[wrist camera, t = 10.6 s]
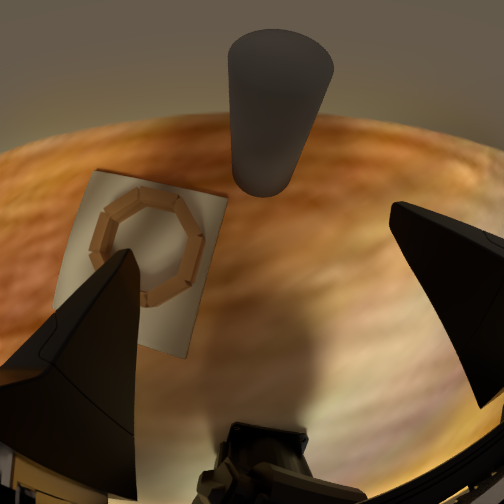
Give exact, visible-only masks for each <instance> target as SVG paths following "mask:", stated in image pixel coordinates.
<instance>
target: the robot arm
mask: <svg viewBox="0 0 504 504" xmlns="http://www.w3.org/2000/svg"><path fill="white" fill-rule="evenodd" d="M389 227H390V230H391V232H392V234H393V236H394V237H395V239H396V241H397V243H398V245H399V247H400V249H401V251H402V253H403V255H404V257H405V259H406V261H407V263H408V264H409V266H410V268H411V269H412V271H413V273H414V274H415V276H416V278H417V279H418V281H419V283H420V284H421V286H422V288H423V289H424V291H425V293H426V295H427V296H428V298H429V300H430V302H431V304H432V305H433V307H434V309H435V311H436V313H437V315H438V317H439V319H440V320H441V322H442V324H443V326H444V328H445V330H446V332H447V334H448V336H449V338H450V340H451V342H452V344H453V347H454V349H455V351H456V353H457V355H458V357H459V360H460V362H461V364H462V367H463V369H464V371H465V373H466V376H467V378H468V381H469V383H470V385H471V388H472V390H473V393H474V396H475V398H476V401H477V403H478V406H479V408H480V409H482V408H483V407H485V406H486V405H487V404H489V403H490V402H491V401H493V400H494V399H495V398H497V397H498V396H499V395H501V394H502V393H503V392H504V239H503V238H501V237H498V236H496V235H493V234H491V233H488V232H486V231H484V230H483V231H482V230H481V229H479V228H476V227H474V226H471V225H469V224H466V223H463V222H461V221H458V220H456V219H453V218H450V217H447V216H445V215H442V214H439V213H436V212H434V211H431V210H428V209H425V208H422V207H419V206H416V205H413V204H410V203H407V202H404V201H400V202H394V203H393V204H392V206H391V213H390V219H389ZM139 321H140V269H139V266H138V264H137V261H136V259H135V256H134V254H133V251H132V250H131V249H130V248H126V249H121V250H118V251H117V252H116V253H115V254H114V255H113V256H112V257H110V258H109V259H108V260H107V261H106V262H105V263H104V264H103V265H102V266H101V267H100V268H99V269H97V270H96V271H95V272H94V273H93V274H92V275H91V276H90V277H89V278H88V279H87V280H86V281H85V282H84V283H83V284H82V285H81V286H80V287H79V288H78V289H77V290H76V291H75V292H74V293H73V294H72V295H71V296H70V297H69V298H68V299H67V300H66V301H65V302H64V303H63V304H62V305H61V306H60V307H59V308H58V309H57V310H56V311H55V313H53V314H52V315H51V316H50V317H49V318H48V319H47V320H46V321H45V323H44V324H43V325H42V326H41V327H40V328H39V329H38V330H37V331H36V332H35V333H34V334H33V335H32V336H31V337H30V338H29V339H28V340H27V341H26V342H25V343H24V344H23V345H22V346H21V347H20V348H19V349H18V350H17V351H16V352H15V353H14V354H13V355H12V356H11V357H10V358H9V359H8V360H7V361H6V362H5V363H4V364H3V365H2V366H1V367H0V504H108V498H112V499H119V500H128V501H137V486H136V471H135V444H134V437H133V436H134V397H135V373H136V356H137V343H138V332H139ZM234 427H239V428H240V429H239V430H235V429H234ZM301 438H305V439H304V440H302V441H301V440H300V439H301ZM308 440H309V438H308V436H307V435H306V434H304V433H297V432H290V431H283V430H277V429H271V428H265V427H259V426H254V425H249V424H244V423H240V422H235V423H233V424H232V425H231V428H230V431H229V435H228V438H227V442H222V443H220V447H219V450H218V454H217V457H216V461H215V464H214V470H208V471H203V472H202V474H201V475H200V476H199V480H198V484H197V493H198V494H197V496H196V497H195V499H194V500H193V502H192V504H439V503H441V502H442V501H444V500H446V499H447V498H449V497H451V496H452V495H454V494H455V493H457V492H458V491H460V490H461V489H463V488H464V487H466V486H467V485H468V488H469V490H470V492H469V493H466V494H464V495H462V496H460V497H458V498H457V499H455V502H456V503H454V504H504V405H503V409H502V415H501V421H500V424H499V425H497V426H496V427H495V428H494V429H492V430H491V431H490V432H488V433H487V434H486V435H484V436H483V437H482V438H480V439H479V440H478V441H476V442H475V443H473V444H472V445H470V446H469V447H467V448H466V449H465V450H463V451H461V452H460V453H458V454H457V455H455V456H454V457H452V458H450V459H449V460H447V461H446V462H444V463H442V464H440V465H439V466H437V467H435V468H434V469H432V470H430V471H428V472H426V473H424V474H423V475H421V476H419V477H417V478H415V479H413V480H411V481H409V482H407V483H405V484H402V485H400V486H398V487H396V488H394V489H392V490H389V491H387V492H385V493H382V494H380V495H377V496H375V497H372V498H370V499H368V498H367V496H366V494H365V493H363V492H362V491H361V490H359V489H357V488H353V487H348V486H344V485H339V484H335V483H331V482H327V481H323V480H320V479H316V478H313V476H312V473H311V471H310V469H309V466H308V464H307V462H306V459H305V457H304V455H303V454H304V451H305V448H306V446H307V443H308Z"/></svg>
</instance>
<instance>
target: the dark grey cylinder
mask: <svg viewBox="0 0 504 504" xmlns="http://www.w3.org/2000/svg"><path fill="white" fill-rule="evenodd" d="M228 72H229V73H228V74H229V98H230V100H229V102H230V127H231V150H232V171H233V177H234V180H235V182H236V184H237V185H238V186H239V187H240V188H241V189H242V190H243V191H244V192H246V193H247V194H249V195H252V196H255V197H271V196H274V195H277V194H279V193H280V192H282V191H283V190H284V189H285V188H286V187H287V185H288V184H289V181H290V179H291V177H292V174H293V172H294V169H295V167H296V165H297V162H298V160H299V157H300V155H301V152H302V150H303V147H304V145H305V143H306V140H307V138H308V135H309V133H310V130H311V128H312V125H313V123H314V120H315V118H316V115H317V113H318V111H319V108H320V105H321V103H322V101H323V98H324V96H325V93H326V91H327V88H328V85H329V83H330V81H331V78H332V76H333V72H334V65H333V61H332V59H331V57H330V55H329V54H328V52H327V51H326V50H325V49H324V48H323V47H322V46H321V45H319V43H317V42H316V41H314V40H312V39H311V38H309V37H307V36H304V35H302V34H299V33H296V32H292V31H288V30H280V29H265V30H259V31H254V32H251V33H248V34H246V35H244V36H242V37H240V38H239V39H238V40H237V41H235V42H234V43H233V44H232V46H231V48H230V50H229V53H228Z"/></svg>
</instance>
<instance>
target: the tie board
mask: <svg viewBox="0 0 504 504" xmlns="http://www.w3.org/2000/svg"><path fill="white" fill-rule="evenodd" d="M227 203H228V198H224V197H219V196H215V195H211V194H207V193H202V192H198V191H193V190H189V189H184V188H180V187H175V186H171V185H166V184H161V183H156V182H152V181H147V180H142V179H137V178H132V177H127V176H121V175H116V174H111V173H105V172H100V171H93V173H92V175H91V178H90V180H89V183H88V185H87V188H86V190H85V193H84V196H83V198H82V201H81V204H80V207H79V210H78V212H77V215H76V218H75V221H74V224H73V227H72V231H71V234H70V237H69V240H68V244H67V247H66V251H65V254H64V258H63V262H62V265H61V269H60V273H59V278H58V282H57V286H56V291H55V295H54V300H53V305H52V308H54V309H56V310H57V309H58V308H59V307H60V306H61V305H62V304H63V303H64V302H65V301H66V300H67V299H68V298H69V297H70V296H71V295H72V294H73V293H74V292H75V291H76V290H77V289H78V288H79V287H80V286H81V285H82V284H83V283H84V282H85V281H86V280H87V279H88V278H89V277H90V276H91V275H92V274H93V273H94V272H95V271H96V270H97V269H99V268H100V267H101V266H102V265H103V264H104V263H105V262H106V261H107V260H108V259H109V258H110V257H112V256H113V255H114V254H115V253H116V252H117V251H118V250H121V249H126V248H130V249H131V250H132V251H133V254H134V256H135V259H136V261H137V264H138V266H139V269H140V321H139V332H138V343H137V344H140V345H143V346H146V347H149V348H152V349H155V350H158V351H161V352H164V353H167V354H170V355H173V356H176V357H179V358H183V359H186V357H187V352H188V348H189V344H190V340H191V336H192V332H193V328H194V324H195V320H196V316H197V312H198V308H199V304H200V300H201V297H202V293H203V289H204V285H205V281H206V278H207V274H208V270H209V267H210V263H211V259H212V256H213V252H214V248H215V245H216V241H217V238H218V234H219V231H220V227H221V224H222V220H223V217H224V213H225V210H226V206H227Z"/></svg>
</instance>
